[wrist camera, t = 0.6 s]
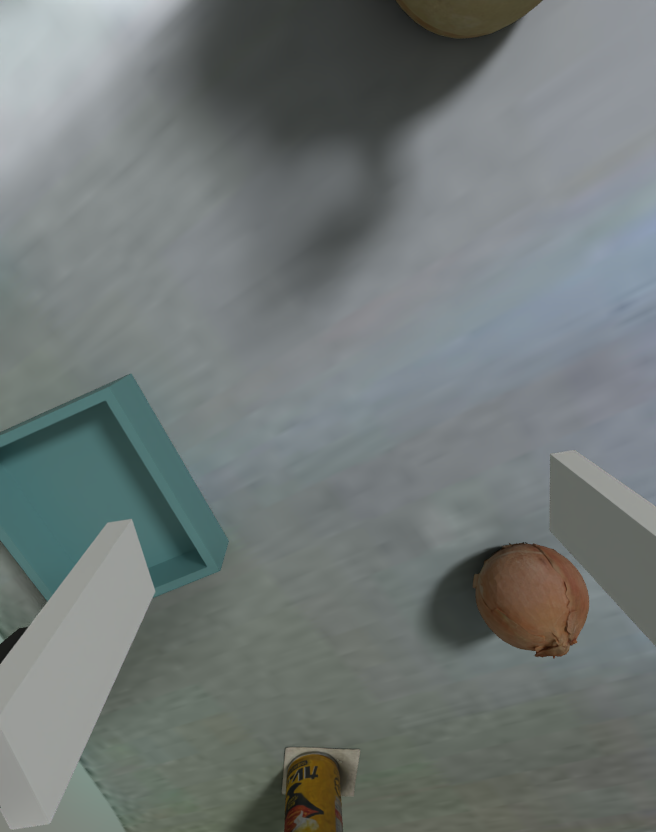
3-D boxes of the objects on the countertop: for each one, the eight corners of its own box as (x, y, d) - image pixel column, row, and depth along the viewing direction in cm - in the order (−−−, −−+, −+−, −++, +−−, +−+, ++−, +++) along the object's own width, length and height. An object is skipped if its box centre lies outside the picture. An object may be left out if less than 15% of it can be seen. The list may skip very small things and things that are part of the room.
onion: (516, 571, 50) (574, 669, 42) (441, 579, 46) (490, 686, 39) (566, 516, 44) (642, 618, 37) (484, 520, 41) (551, 634, 33)
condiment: (285, 746, 52) (279, 881, 40) (360, 747, 52) (375, 881, 41) (281, 791, 54) (275, 932, 43) (353, 793, 55) (365, 931, 43)
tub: (-20, 441, 39) (-60, 462, 35) (131, 373, 38) (109, 386, 34) (92, 596, 45) (70, 631, 40) (228, 541, 43) (220, 570, 39)
